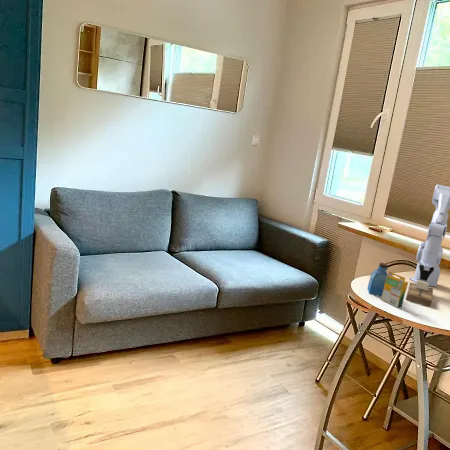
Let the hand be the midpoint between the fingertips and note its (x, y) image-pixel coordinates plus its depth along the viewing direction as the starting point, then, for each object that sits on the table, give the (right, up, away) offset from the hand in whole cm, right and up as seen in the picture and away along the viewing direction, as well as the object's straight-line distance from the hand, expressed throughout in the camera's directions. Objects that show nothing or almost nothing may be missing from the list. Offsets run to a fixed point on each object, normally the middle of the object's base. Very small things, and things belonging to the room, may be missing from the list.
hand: (422, 282), depth 191 cm
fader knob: (-2, -1, -5) cm, 5 cm away
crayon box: (-20, -5, -20) cm, 29 cm away
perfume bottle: (-23, -3, -11) cm, 25 cm away
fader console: (-5, -5, -8) cm, 10 cm away
